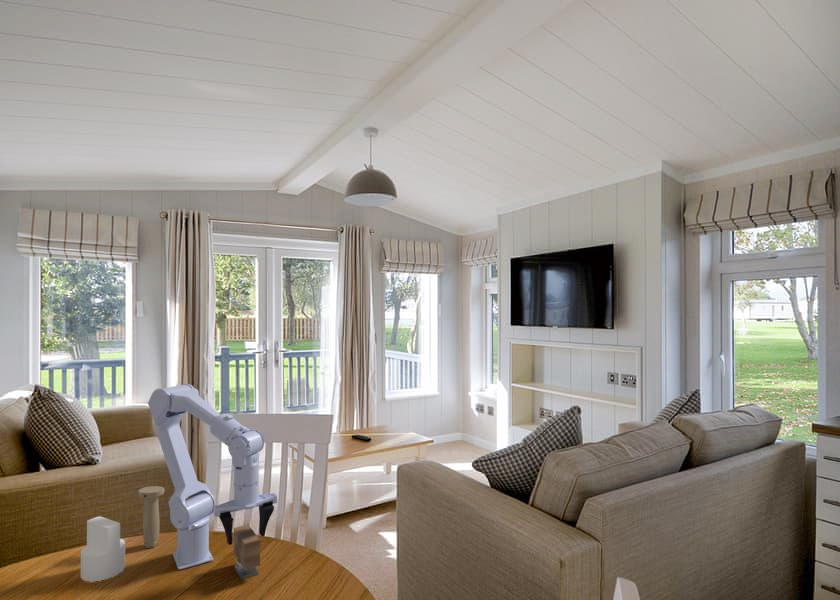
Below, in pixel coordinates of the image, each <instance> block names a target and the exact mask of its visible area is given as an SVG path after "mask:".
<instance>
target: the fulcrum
mask: <svg viewBox="0 0 840 600" xmlns="http://www.w3.org/2000/svg"><path fill="white" fill-rule="evenodd" d="M234 570H235V571H236V573H237V575H238V576H240V577H239V578H240V580H243V579H246V578H249V577H250V576H251V577H253V575H254V576H257V575H259V570H258V569H257V567H253V568H250V569H246V570H244V568H243V566H242V565H241V563H240V562H239V560H238V558H237V559H236V565H234Z"/></svg>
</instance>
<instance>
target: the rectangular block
mask: <svg viewBox="0 0 840 600" xmlns="http://www.w3.org/2000/svg"><path fill="white" fill-rule="evenodd" d="M233 553H234V555H235V557H236V558H237V559H238V560H239V562H240V563H241V565H242V566H243V568H244V570H246V569H250V568H253V567H256V568H257V567H260V566H261V539H260V538H259V536H258V535H257V534H256V533H255V531H254V530H253V529H252V527H251V526H250V525H249V524H244V525H239V526H237V527H233Z"/></svg>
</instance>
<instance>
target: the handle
mask: <svg viewBox="0 0 840 600" xmlns="http://www.w3.org/2000/svg"><path fill="white" fill-rule="evenodd" d="M164 494H165V487H163V486H159V485H153V486H145V487H142V488H140V489H138V491H137V496H138V497H140V498H141V499H143V503H144V504H143V517H142V536H143V545H144V547H145V549H151V548H155V547H156V546H158V545H159V536H160V527H161V526H160V524H161V523H160V522H161V520H160V511H159V509H160V507H159V498H160V497H161V496H163V495H164Z"/></svg>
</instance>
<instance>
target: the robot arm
mask: <svg viewBox="0 0 840 600" xmlns="http://www.w3.org/2000/svg"><path fill="white" fill-rule="evenodd" d="M147 405H148V407H149V411H150V414H151V417H152V419H153V423H154V424H153V425H154V428H155V432H156V434H157V437H158V441H159V443H160V447H161V451H162V454H163V455H164V456H163V457H164V460H165V463H166V466H167V469H168V472H169V475H170V479H171V482H172V484H173V485H172V486H173V488H174V492H173V494H172V495H171V497H170V499H169V500H168V506H169V518H170V522H171V524H172V525H173V527H174V528H175V529H176V551H173V552H172V556H173V559H174V562H175V564H176V567H177V569H178V570H180V571H181V570H183V569H188V568H190V567H194V566H197V565H202V564H205V563H209V562H212V561H213V560H214V557H213V555H212V553H211V551H210V545H209V543H210V542H209V541H210V540H209V539H210V538H209V537H210V533H209V532H210V527H209V526H210V523H209V522H210V520H211V519H212V514H213V515H214V517H215V518H217V517H219V520H220V522H221V524H222V527H223V529H224V533H225V537H226V543H227V544H228V545H229V546H231V545H233V522H234V518H233V517H232V513H235V512H239V511H243V510H251V509H255V508H257V507H258V515H259V524H258V526H259V527H258V528H259V529H258V530H259V532H258V533H259V535H260V536H261V537H264V536H266V530H267V527H268V524H269V521H270V518H271V517H272V514H273V513H274V511H275V505H274V504H278V494H276V493H275V492H273V493H266V494H265V493H264V494H260V490H259V489H260V485H259V484H260V452H261V451H262V450H263V449H264V446H265V439H264V436H263V434H262V433H261V432H260V431H259V430H258V429H255V428H252V429H250V428H248V427H246V425H242V424H241V423H240V422H239V421H237V420H236V419H235V418H234V416H233V415H232V414H228V413H223V414H220V412H218V411H217V410H216V409H214V408H213V407H212V406H211V405H210V404H209V403H207V401H206V400H205V399H204V398H202V397H201V396H200V394H199V390H198V389H197V388H194V386H193V385H192V384H189V383H183V384H180V385H175V386H169V387H164V388H157V389H154V391H152V393H151V395H150V397H149V399H148V401H147ZM187 413H188V414H191V415H192V416H194V417H195V418H197V419H198V420H200V421H202V422H203V423H205V425H207V426H209V431H210V434H211V435H213V436H214V437H215V438H216V439H218V440H219V441H220V442H221V443H223V444H224V445H225V446H227V448H228V452H229V455H230V456H231V459H232V460H231V461H232V463H231V464H232V465H233V499H231V500H229V501H225V502H223V503H221V504H217V502H216V498H215V496H214V494H212V492H211V491H210V489H209V486H208V485H207V484H206V483H203V482H201V481H198V477H197V474H196V472H195V469H194V466H193V463H192V459H191V456H190V453H189V450H188V447H187V444H186V441H185V438H184V435H183V431H182V428H181V426H180V422H181V421H182V419H183V417H184V416H186V415H187Z"/></svg>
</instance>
